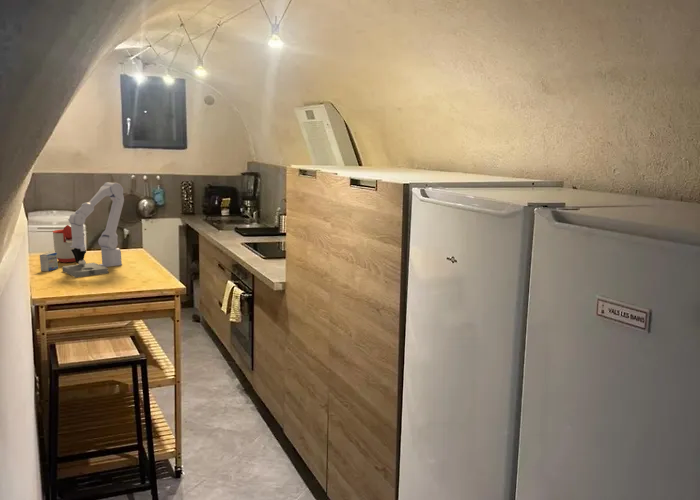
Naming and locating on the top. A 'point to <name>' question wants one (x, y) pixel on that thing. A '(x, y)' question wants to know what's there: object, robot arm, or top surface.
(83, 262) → the ball
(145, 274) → the top surface
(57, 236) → the citrus juicer
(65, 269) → the board
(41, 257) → the medicine box
